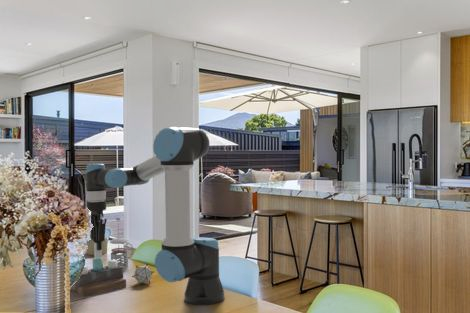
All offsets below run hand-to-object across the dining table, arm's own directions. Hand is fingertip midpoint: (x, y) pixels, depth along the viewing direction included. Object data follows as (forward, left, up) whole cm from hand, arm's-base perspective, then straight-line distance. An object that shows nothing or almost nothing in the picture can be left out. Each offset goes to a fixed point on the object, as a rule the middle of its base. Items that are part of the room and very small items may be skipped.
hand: (98, 257), depth 193 cm
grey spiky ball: (-8, -16, -13) cm, 22 cm away
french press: (+20, -20, -13) cm, 31 cm away
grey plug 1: (0, +7, -9) cm, 11 cm away
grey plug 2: (0, -6, -9) cm, 11 cm away
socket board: (0, 0, -13) cm, 13 cm away
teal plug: (0, 0, -7) cm, 7 cm away
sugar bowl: (+64, -27, -13) cm, 71 cm away
